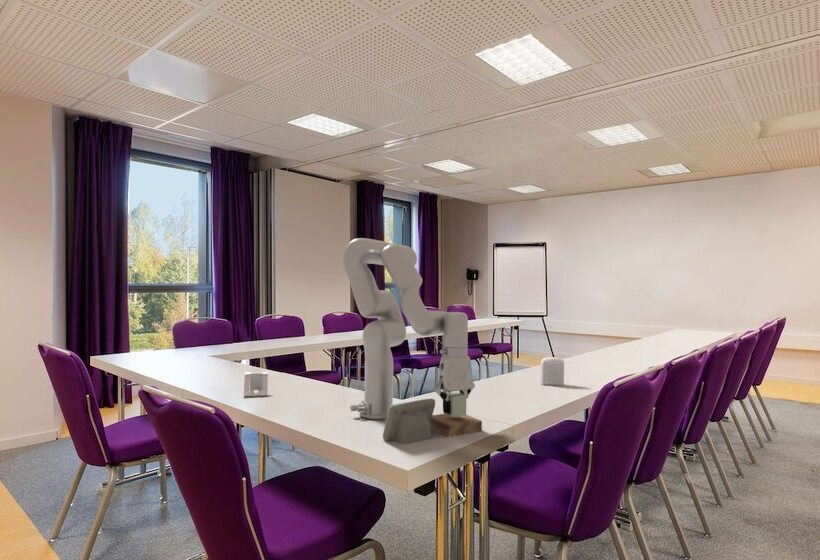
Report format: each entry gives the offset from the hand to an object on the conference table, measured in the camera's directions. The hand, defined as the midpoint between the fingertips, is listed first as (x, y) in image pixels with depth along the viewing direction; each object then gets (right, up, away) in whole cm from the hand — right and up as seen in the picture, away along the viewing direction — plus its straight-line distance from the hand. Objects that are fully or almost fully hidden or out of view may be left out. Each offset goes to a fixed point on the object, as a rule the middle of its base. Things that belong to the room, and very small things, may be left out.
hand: (454, 411), depth 146 cm
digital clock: (-14, -5, -9) cm, 18 cm away
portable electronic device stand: (-74, -5, +40) cm, 84 cm away
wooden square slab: (0, -5, 0) cm, 5 cm away
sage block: (0, -1, 0) cm, 1 cm away
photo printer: (+50, -7, +68) cm, 85 cm away
